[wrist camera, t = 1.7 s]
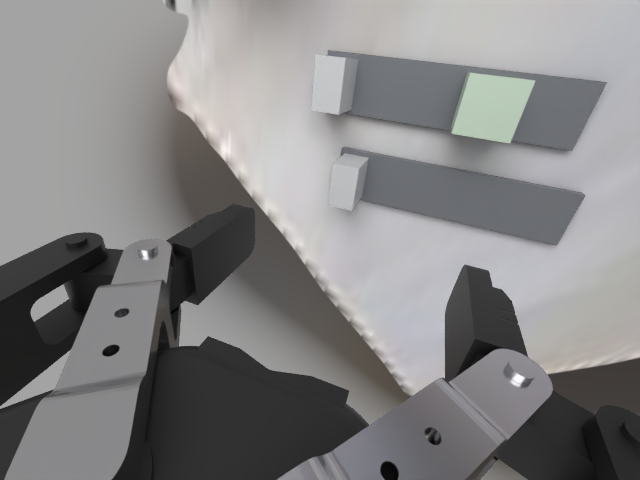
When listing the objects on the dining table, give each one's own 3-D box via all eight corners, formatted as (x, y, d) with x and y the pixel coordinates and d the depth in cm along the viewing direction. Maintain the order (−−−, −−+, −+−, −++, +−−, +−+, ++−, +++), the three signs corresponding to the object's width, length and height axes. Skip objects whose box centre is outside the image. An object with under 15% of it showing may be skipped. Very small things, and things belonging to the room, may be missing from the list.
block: (523, 78, 29) (535, 80, 25) (502, 133, 32) (510, 143, 28) (467, 72, 31) (470, 72, 26) (451, 125, 33) (451, 133, 29)
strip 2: (582, 193, 32) (605, 214, 28) (554, 242, 36) (571, 269, 31) (343, 146, 39) (328, 157, 34) (337, 192, 42) (322, 207, 37)
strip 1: (603, 82, 28) (635, 84, 23) (569, 148, 31) (591, 163, 26) (330, 50, 34) (311, 47, 30) (324, 108, 38) (306, 114, 33)
